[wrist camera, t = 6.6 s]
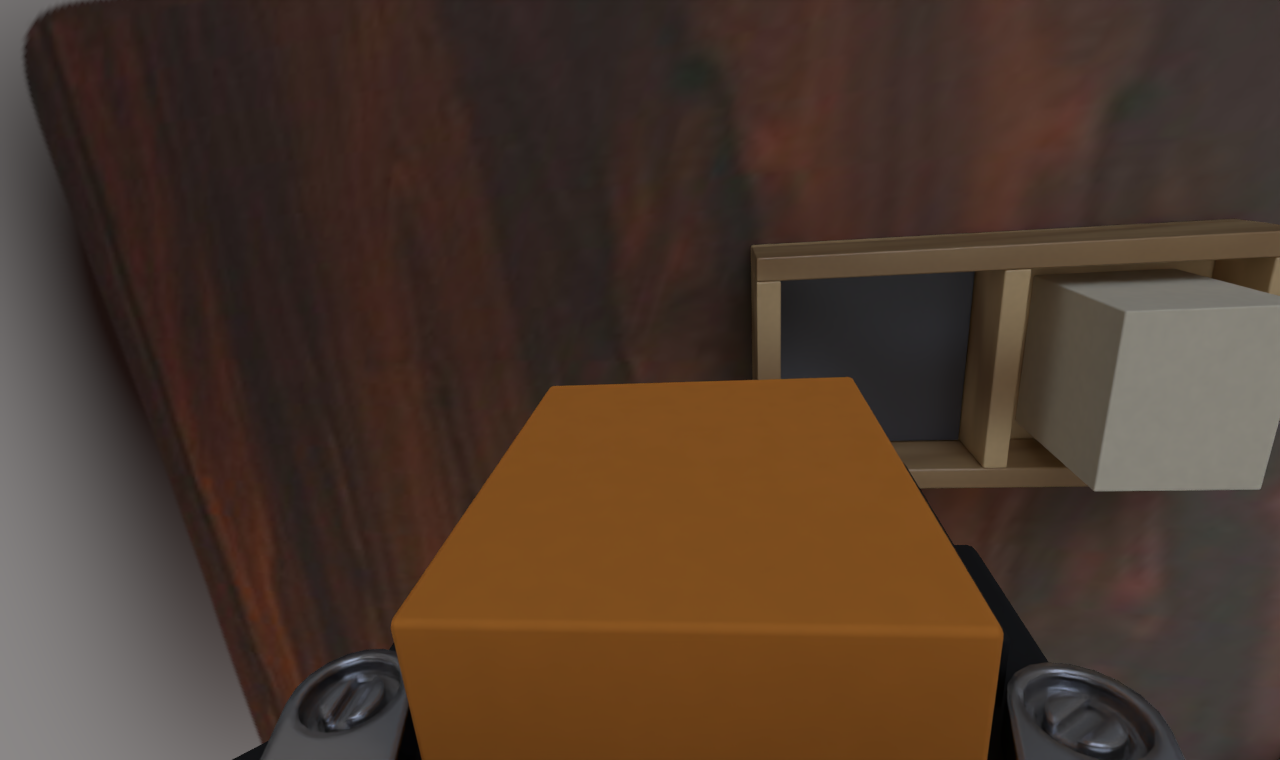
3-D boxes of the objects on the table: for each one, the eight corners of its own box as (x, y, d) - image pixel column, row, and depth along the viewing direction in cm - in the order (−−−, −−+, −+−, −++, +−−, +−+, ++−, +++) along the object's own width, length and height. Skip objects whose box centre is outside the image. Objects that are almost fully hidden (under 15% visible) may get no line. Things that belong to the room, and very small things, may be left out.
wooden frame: (750, 245, 24) (756, 258, 22) (1235, 218, 23) (1313, 229, 20) (753, 454, 27) (758, 491, 24) (1184, 446, 25) (1246, 485, 22)
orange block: (550, 384, 10) (384, 622, 5) (852, 375, 10) (1008, 630, 5) (584, 670, 12) (488, 1057, 7) (841, 676, 12) (944, 1102, 6)
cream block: (1033, 274, 23) (1125, 311, 18) (1175, 268, 23) (1312, 303, 18) (1014, 421, 25) (1093, 492, 20) (1145, 418, 25) (1261, 490, 19)
